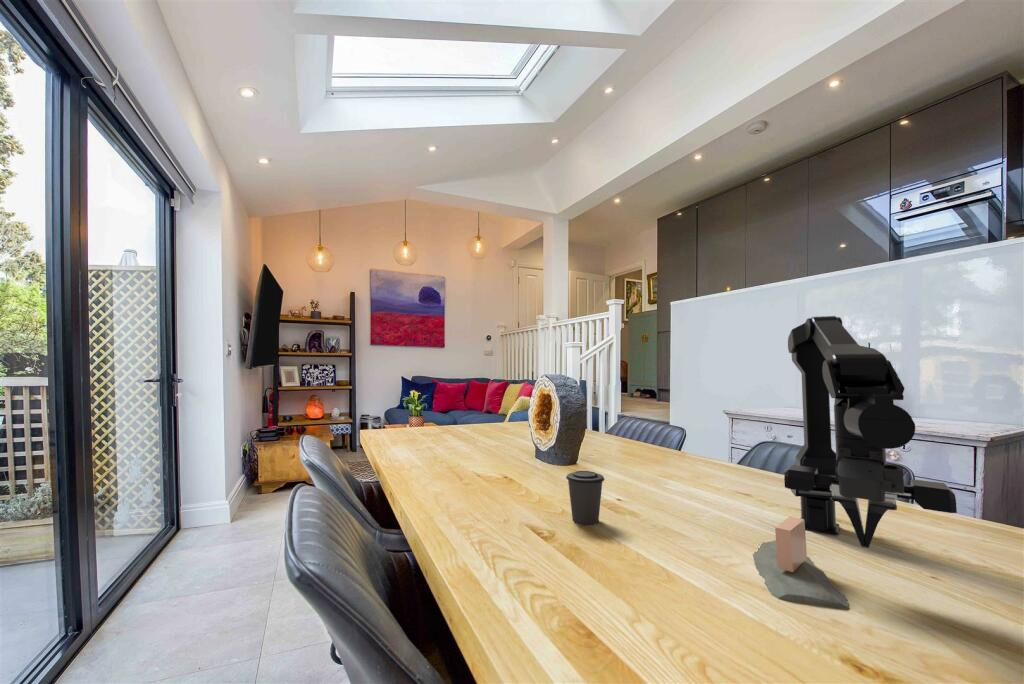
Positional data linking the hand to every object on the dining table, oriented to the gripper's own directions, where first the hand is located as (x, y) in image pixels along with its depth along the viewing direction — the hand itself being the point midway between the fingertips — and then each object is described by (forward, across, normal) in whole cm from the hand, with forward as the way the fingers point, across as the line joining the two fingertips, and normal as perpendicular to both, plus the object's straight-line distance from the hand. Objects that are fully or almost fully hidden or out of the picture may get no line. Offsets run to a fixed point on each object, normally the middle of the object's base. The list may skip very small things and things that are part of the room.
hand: (865, 546), depth 62 cm
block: (+4, -9, -1) cm, 10 cm away
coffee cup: (+6, -45, -1) cm, 46 cm away
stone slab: (+7, -10, 0) cm, 12 cm away
